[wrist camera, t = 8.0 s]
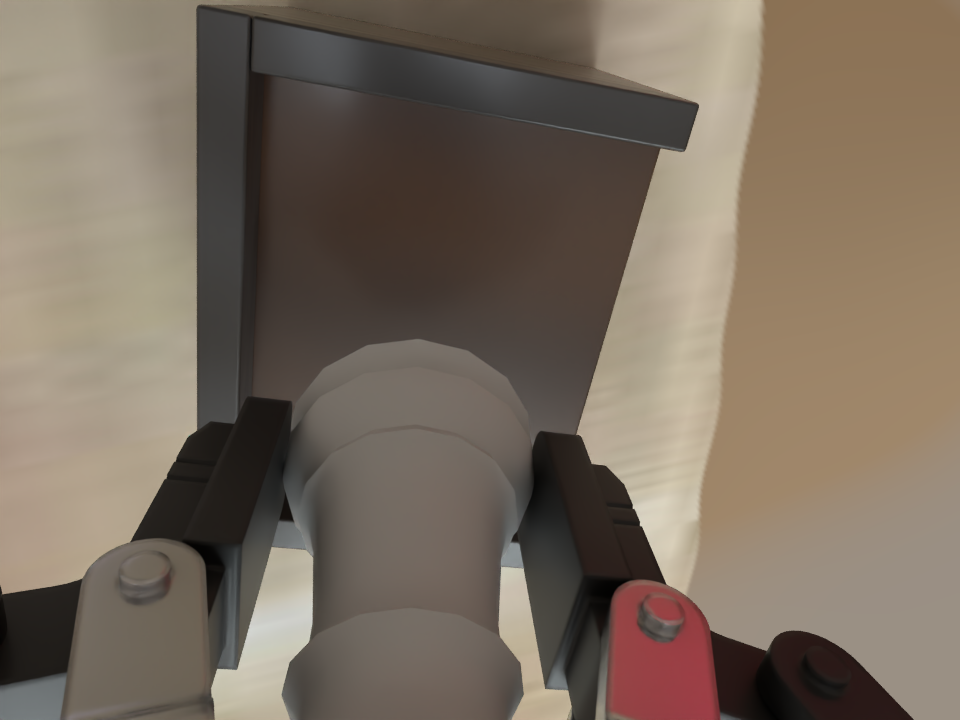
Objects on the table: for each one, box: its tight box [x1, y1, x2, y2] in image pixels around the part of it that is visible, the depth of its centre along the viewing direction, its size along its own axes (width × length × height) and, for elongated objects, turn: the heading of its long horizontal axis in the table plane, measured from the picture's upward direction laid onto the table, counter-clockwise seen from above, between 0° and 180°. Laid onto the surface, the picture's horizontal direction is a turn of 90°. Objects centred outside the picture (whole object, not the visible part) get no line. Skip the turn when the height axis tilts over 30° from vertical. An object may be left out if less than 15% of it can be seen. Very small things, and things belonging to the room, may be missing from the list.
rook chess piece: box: [282, 339, 534, 720], centre depth 9 cm, size 4×4×8 cm
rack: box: [196, 4, 699, 568], centre depth 20 cm, size 13×10×10 cm
